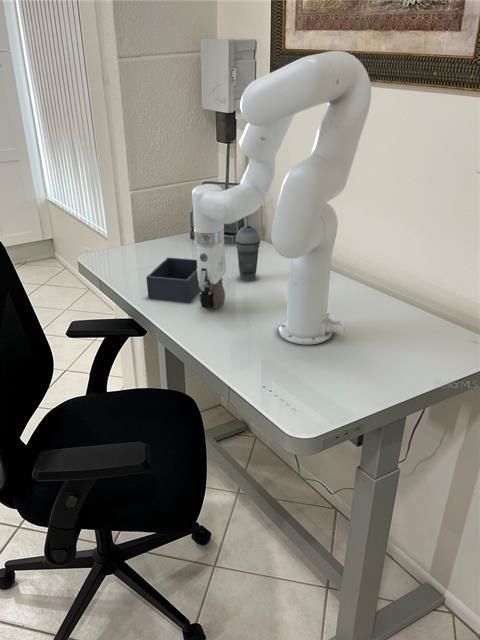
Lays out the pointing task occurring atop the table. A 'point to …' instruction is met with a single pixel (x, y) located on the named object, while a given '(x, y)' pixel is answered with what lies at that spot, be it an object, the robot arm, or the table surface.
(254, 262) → the beverage cup
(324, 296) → the robot arm
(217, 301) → the vase
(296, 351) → the table surface
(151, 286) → the dark grey open box
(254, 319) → the table surface
